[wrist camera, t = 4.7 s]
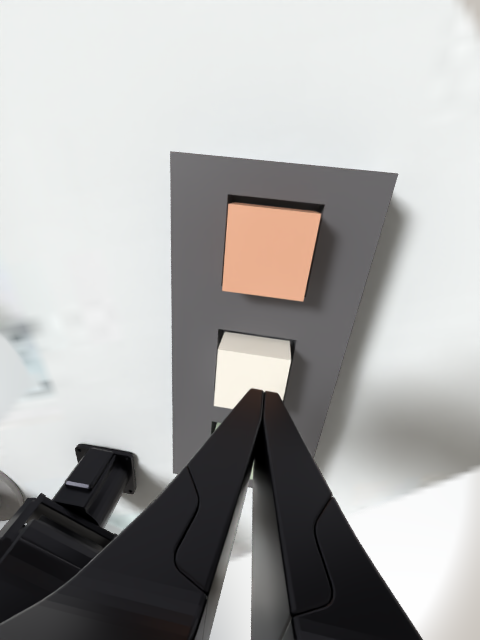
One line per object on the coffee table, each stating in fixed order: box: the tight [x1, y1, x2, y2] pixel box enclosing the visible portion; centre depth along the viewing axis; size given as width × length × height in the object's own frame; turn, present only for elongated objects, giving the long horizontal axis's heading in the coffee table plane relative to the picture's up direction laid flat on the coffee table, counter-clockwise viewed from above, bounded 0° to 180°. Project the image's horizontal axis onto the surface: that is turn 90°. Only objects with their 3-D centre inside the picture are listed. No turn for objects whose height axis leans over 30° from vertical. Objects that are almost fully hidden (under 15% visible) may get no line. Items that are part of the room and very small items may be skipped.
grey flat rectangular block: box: [170, 151, 398, 488], centre depth 22 cm, size 26×12×4 cm, turn 175°
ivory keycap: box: [214, 332, 291, 409], centre depth 19 cm, size 5×5×2 cm
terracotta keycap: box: [222, 202, 321, 301], centre depth 16 cm, size 5×5×2 cm
